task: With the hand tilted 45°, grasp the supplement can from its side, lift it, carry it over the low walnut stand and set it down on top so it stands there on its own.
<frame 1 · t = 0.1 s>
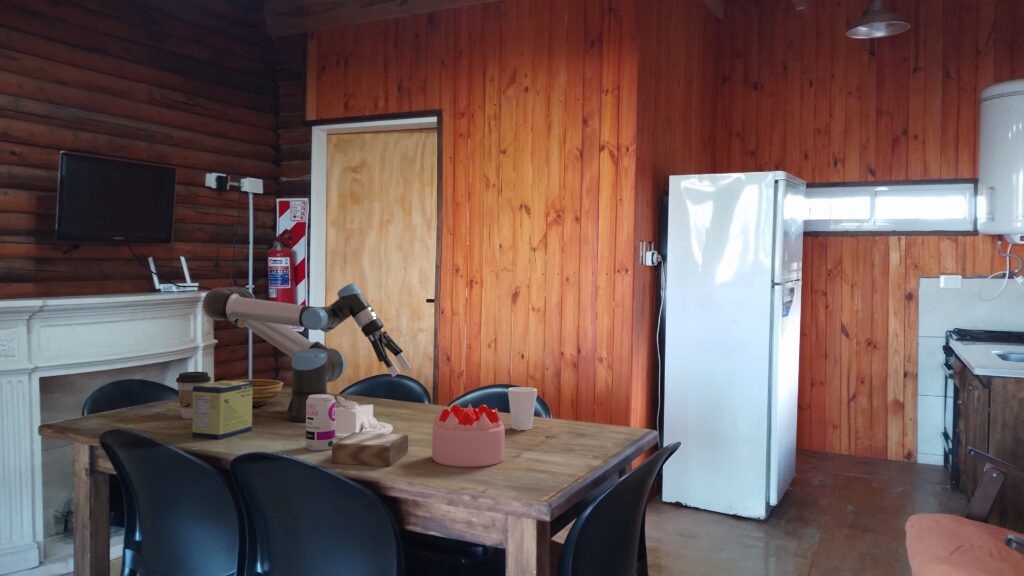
hand: (402, 372, 278), 15 cm above the table, tool tilted 35°, fingers open, 13 cm apart
cake: (468, 459, 215), on the table
coffee cup: (193, 417, 269), on the table
supplement can: (320, 448, 225), on the table
walnut stand: (371, 457, 214), on the table
foam cup: (521, 429, 258), on the table
protein box: (222, 434, 243), on the table
wicker basket: (249, 405, 296), on the table
dish: (353, 432, 251), on the table
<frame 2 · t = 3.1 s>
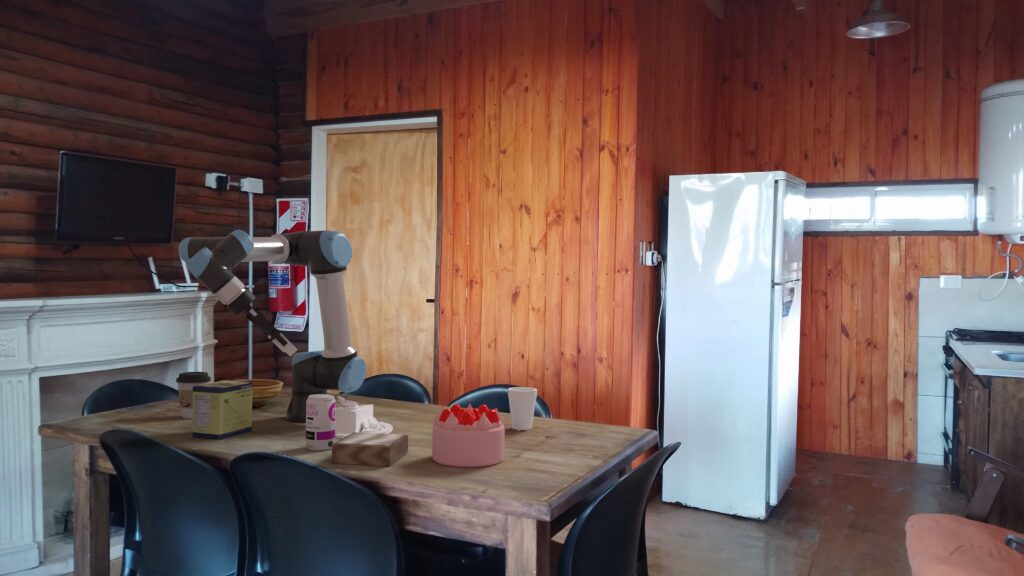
hand: (290, 351, 221), 28 cm above the table, tool tilted 45°, fingers open, 13 cm apart
nothing on the table moved.
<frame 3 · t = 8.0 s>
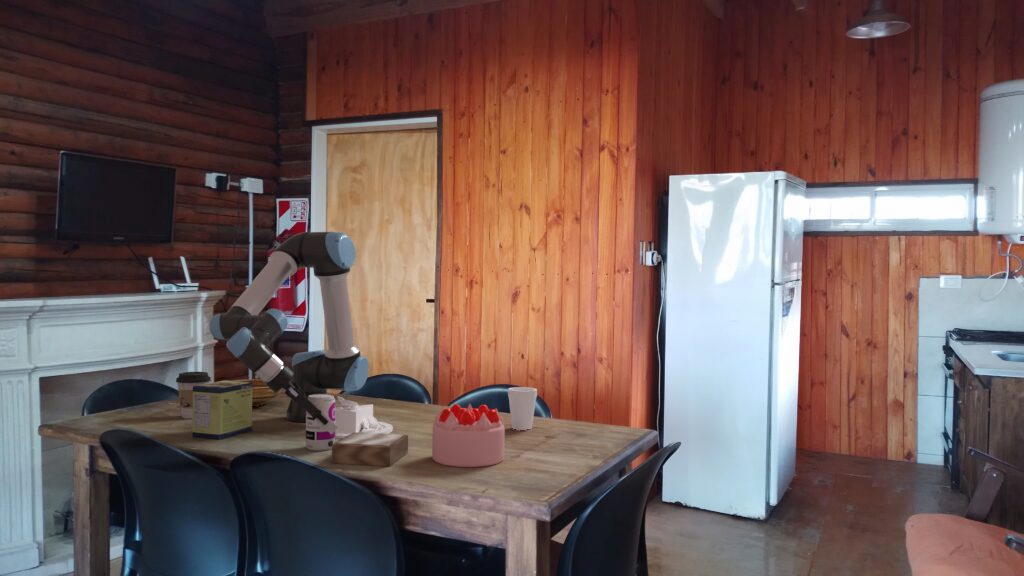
hand: (332, 427, 226), 6 cm above the table, tool tilted 45°, fingers closed on supplement can, 8 cm apart
supplement can: (320, 448, 225), on the table, touching gripper
everything else where it was.
when the fingers open (14 cm above the table, at t = 13.8 s): supplement can drops 3 cm, resting on walnut stand.
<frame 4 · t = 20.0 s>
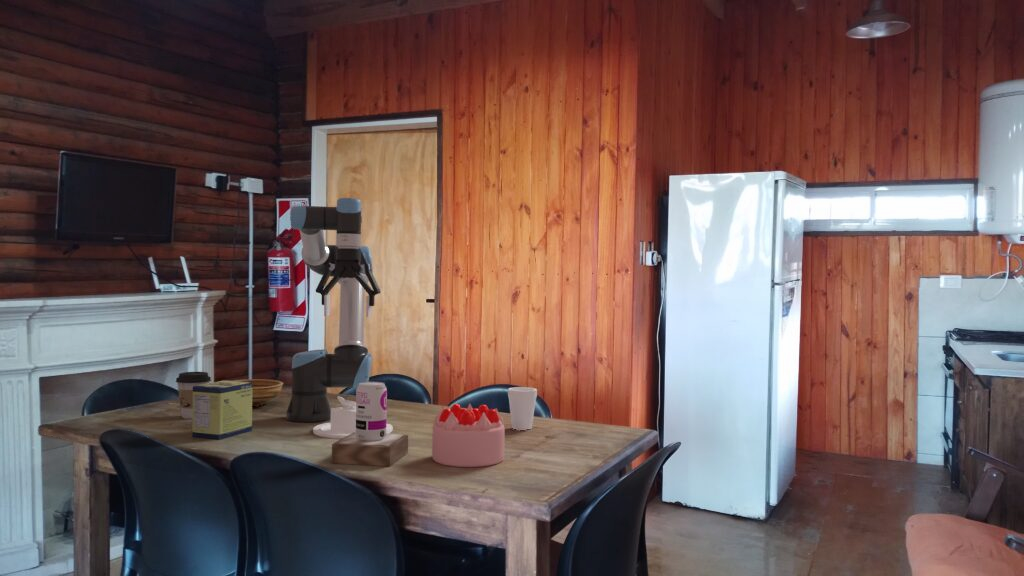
hand: (347, 316, 244), 37 cm above the table, tool pointing down, fingers open, 13 cm apart
supplement can: (370, 439, 214), point 5 cm above the table, touching walnut stand
everything else where it was.
at the end: supplement can inside the target area on the walnut stand (0.1 cm from its centre), point 5.1 cm above the walnut stand's base; supplement can tilted 0°; the gripper is holding nothing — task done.
